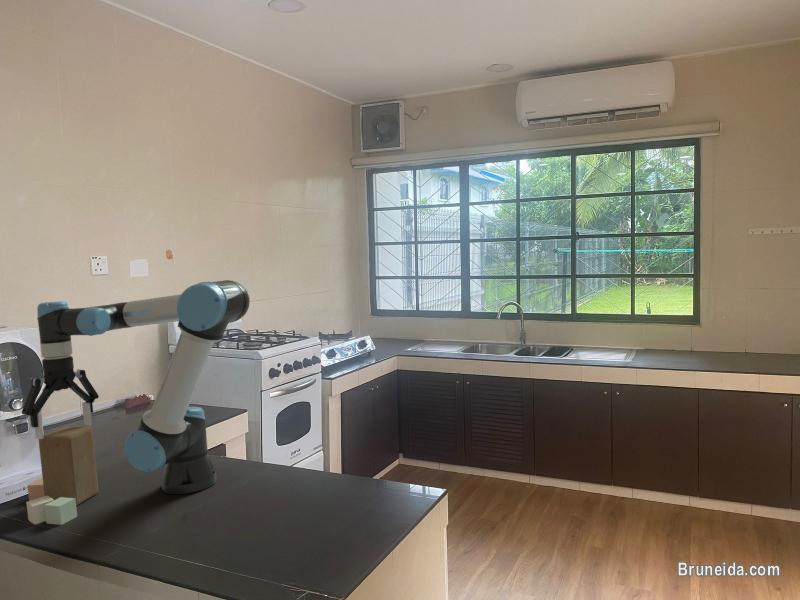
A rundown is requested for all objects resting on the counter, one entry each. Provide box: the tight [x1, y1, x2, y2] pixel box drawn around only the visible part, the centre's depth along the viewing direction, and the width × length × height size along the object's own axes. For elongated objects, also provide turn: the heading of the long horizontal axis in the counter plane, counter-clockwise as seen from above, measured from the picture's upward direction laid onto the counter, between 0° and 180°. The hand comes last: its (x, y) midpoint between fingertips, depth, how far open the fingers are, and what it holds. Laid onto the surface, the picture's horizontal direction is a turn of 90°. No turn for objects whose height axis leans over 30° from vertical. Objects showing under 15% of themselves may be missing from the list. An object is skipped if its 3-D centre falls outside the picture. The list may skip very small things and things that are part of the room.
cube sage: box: [45, 497, 78, 526], centre depth 157 cm, size 5×5×5 cm
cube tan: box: [27, 478, 45, 501], centre depth 173 cm, size 5×5×5 cm
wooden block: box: [38, 426, 99, 506], centre depth 170 cm, size 10×10×20 cm
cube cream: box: [26, 496, 54, 525], centre depth 159 cm, size 5×5×5 cm
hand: (64, 431), depth 169 cm, fingers open, 13 cm apart
